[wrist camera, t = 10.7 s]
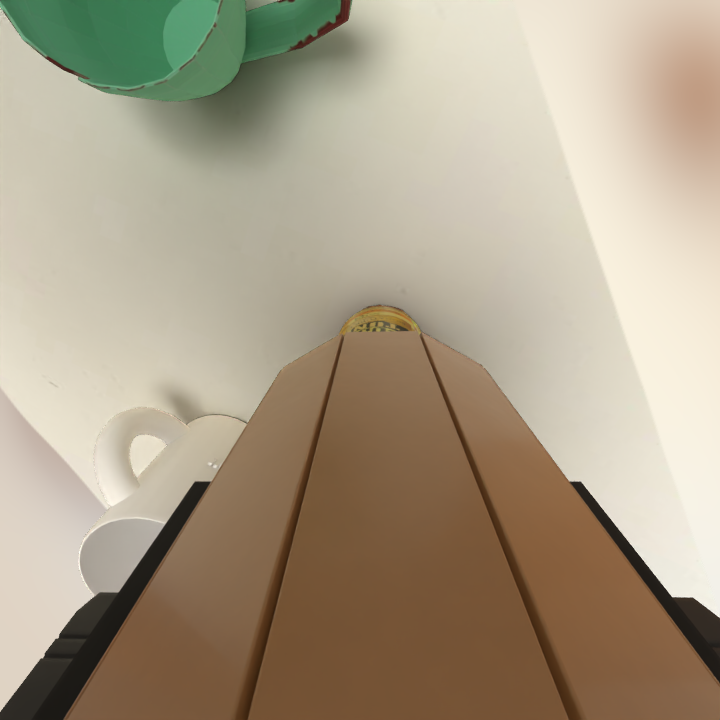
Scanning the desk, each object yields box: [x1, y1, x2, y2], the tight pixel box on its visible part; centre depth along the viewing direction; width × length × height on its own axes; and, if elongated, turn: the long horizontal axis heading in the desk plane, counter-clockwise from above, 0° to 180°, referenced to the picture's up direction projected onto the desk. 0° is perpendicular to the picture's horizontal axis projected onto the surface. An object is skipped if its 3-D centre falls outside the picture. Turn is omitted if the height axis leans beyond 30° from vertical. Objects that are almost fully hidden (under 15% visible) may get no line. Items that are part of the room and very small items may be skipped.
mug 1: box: [0, 0, 352, 101], centre depth 20 cm, size 15×10×10 cm
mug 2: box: [78, 407, 247, 597], centre depth 28 cm, size 8×12×12 cm
